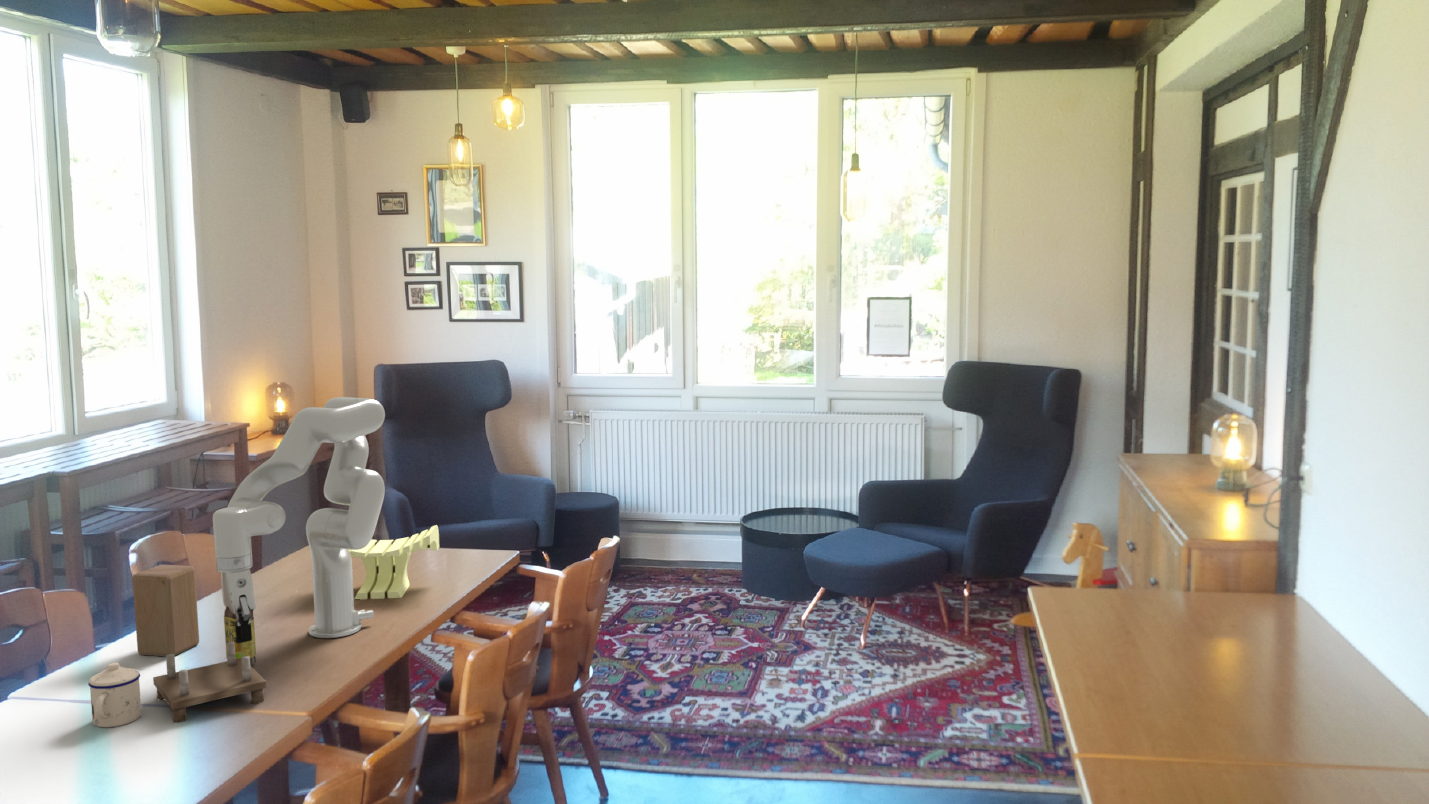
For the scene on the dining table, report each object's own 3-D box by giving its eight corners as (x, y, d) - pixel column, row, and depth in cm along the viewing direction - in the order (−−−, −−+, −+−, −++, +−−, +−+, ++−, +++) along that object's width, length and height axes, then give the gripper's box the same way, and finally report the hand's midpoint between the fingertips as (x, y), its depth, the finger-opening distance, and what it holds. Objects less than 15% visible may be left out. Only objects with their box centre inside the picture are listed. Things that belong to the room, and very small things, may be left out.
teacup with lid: (104, 711, 215) (100, 657, 214) (150, 709, 216) (146, 655, 214) (75, 736, 203) (70, 678, 202) (124, 733, 204) (119, 676, 203)
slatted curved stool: (440, 580, 309) (438, 522, 307) (432, 596, 294) (429, 534, 292) (336, 584, 306) (333, 525, 304) (322, 600, 290) (319, 538, 288)
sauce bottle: (221, 666, 239) (214, 582, 236) (246, 657, 244) (239, 575, 242) (238, 671, 235) (231, 586, 233) (263, 662, 241) (256, 579, 238)
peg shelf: (243, 677, 233) (241, 636, 232) (267, 701, 219) (264, 658, 218) (154, 697, 222) (151, 654, 221) (173, 724, 208) (170, 678, 207)
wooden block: (172, 658, 246) (167, 576, 243) (136, 655, 248) (130, 574, 245) (201, 644, 255) (196, 565, 253) (166, 641, 257) (160, 563, 255)
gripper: (262, 566, 232) (268, 643, 234) (241, 551, 246) (247, 624, 248) (226, 573, 228) (232, 651, 230) (207, 557, 241) (213, 631, 243)
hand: (240, 636), depth 239 cm, fingers closed on sauce bottle, 6 cm apart
